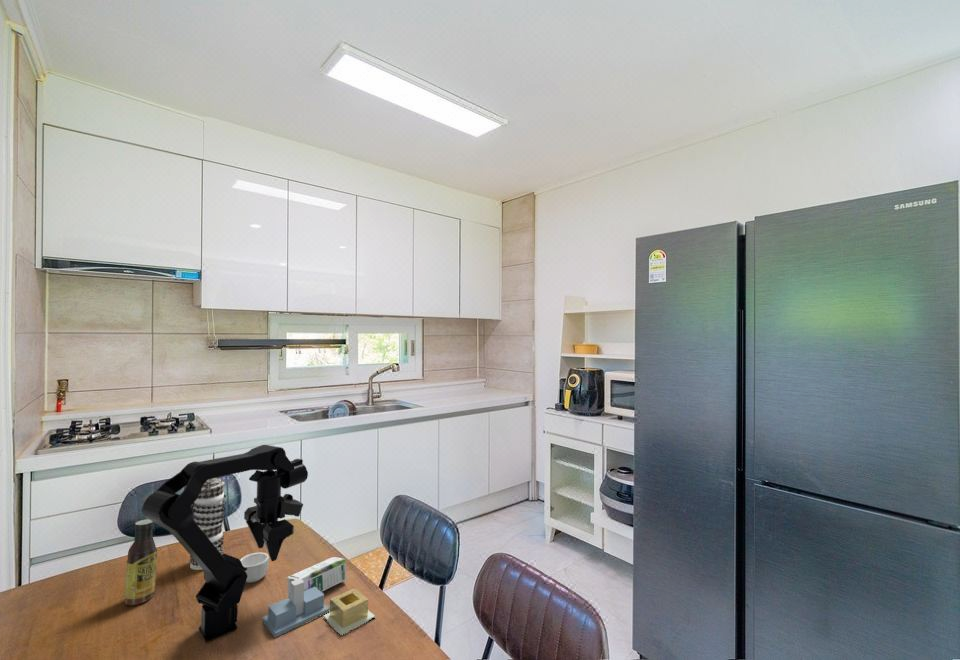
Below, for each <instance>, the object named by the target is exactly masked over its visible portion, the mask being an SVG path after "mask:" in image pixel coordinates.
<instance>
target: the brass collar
mask: <svg viewBox="0 0 960 660" xmlns="http://www.w3.org/2000/svg"><path fill="white" fill-rule="evenodd" d="M368 610H369V598H368V597H366V596H365V595H364V594H363V593H361V592H360V591H359V590H357V589H356V588H355V587H354V588H352V589H350V590H347V591H344V592H343V593H340V594H338V595H336V596H334V597H331V598H330V599H329V612H330V616H331V617H332V618H333V619H334V620H335V621H336V622H337V623H338V624H339V625H340V626H341V627H342V628H345V627H347V626H349V625H351V624H353V623H355V622H356V621H358V620H360V619H362V618H364V617H366V616H368Z"/></svg>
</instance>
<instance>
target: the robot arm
mask: <svg viewBox="0 0 960 660" xmlns="http://www.w3.org/2000/svg"><path fill="white" fill-rule="evenodd" d="M286 453H287V452H286V450H285V449H284V447H280V446H275V445H270V444H261V445H259V446H256V447H254V448H251V449H250V450H248V451H247V452H244V453H239V454H234V455H230V456H229V455H228V456H224V457H217V458H213V459H206V460H201V461H192V462H189V463H188V464H186V465H185V466H184V467H183V468H182V469H181V470H180V472H178V473H176V474H175V475H173V476H172V477H171V478H169V479H167V480H166V481H165V482H163V484H161V485H160V486H159V487H158V489H156V490H155V492H153V493H151V494H150V495H148V497H147V498H146V499H145V501H144V502H143V504H142V508H141V513H142V515H143V516H144V517H145V518H147V519H150V520H151V521H153V522H154V524H155V525H158V526H159V527H160V528H163V529H165V530H167V532H169V533H171V535H173V536H172V537H174V538H175V539H176V541H177V542H178V543H179V544H180V545H181V546H182V548H184V549H185V550H186V552H187V553H188V554H189V556H190V555H191V556H192V557H193V559H194V560H195V561H196V562H197V563H198V564H199V565H200V567H201V568H202V569H203V570H202V571H203V579H204V581H205V582H204V584H203V585H202V586H201V587H200V589H199V590H198V592H197V594H196V595H195V599H196V602H197V603H198V604H200V605H201V615H200V616H201V618H200V619H201V621H200V623H201V624H200V626H199V627H198V631H199V633H200V635H201V637H202V638H203V641H204V642H205V643H208V642H211V641H213V640H215V639H217V638H221V637H222V636H225V635H228V634H230V633H233V632H234V631H236V630H237V629H238V625H237V622H238V611H239V609H238V606H239V605H238V604H239V603H240V602H241V599H242V595H243V592H244V589H245V586H246V583H247V582H246V579H247V578H248V576H247V573H246V572H245V571H246V570H247V568H245V567H244V566H243V565H242V563H241V561H240V558H238V557H235V556H232V555H230V554H228V553H224V552H223V554H221V553H220V552H219V551H218V549H217V548H216V547H215V546H214V545H213V543H212V542H211V541H210V540H209V538H208V537H207V536H206V535H205V534H204V532H203V531H202V530H201V529H200V527H199V526H198V525H197V524H196V523H195V521H194V519H193V509H194V508H193V509H192V507H191V505H192V504H193V503H194V502H195V501H196V499H197V498H198V496H199V494H200V492H201V489H202V487H203V485H204V484H205V482H206V481H207V480H209V479H213V478H217V477H218V478H220V477H226V476H230V475H234V474H239V473H244V472H248V471H254V470H255V472H254V473H253V474H251V476H249V478H248V481H251V482H256V497H254V498H253V503H254V504H255V505H253V506H250V507H248V508H246V510H244V514H243V516H244V517H243V519H244V520H245V523H246V525H247V527H248V529H249V530H250V531H249V532H250V533H251V535H252V537H253V538H254V539H253V540H254V541H255V544H256V546H257V548H258V549H262V548H263V547H264V546H265V548H266V551H267V552H268V553H267V554H268V556H269V559H270V560H271V562H275V561H276V560H277V559H278V556H279V553H280V550H281V547H282V544H283V542H284V540H285V539H287V538H289V537H290V536H292V535H294V532H295V530H294V528H295V525H293V524H292V523H291V522H289V521H288V520H287V519H285V518H286V516H294V517H300V515H301V512H302V510H303V507H304V504H303V503H302V502H301V501H299V500H296V499H295V498H294V497H293V495H292V494H290V493H285V494H284V495H283V496H282V489H284V490H285V489H289V488H291V487H295V486H297V485H300V484H303V483H305V482H306V481H307V479H308V476H309V471H308V470H307V467H306V465H305V464H304V463H303V461H304V460H303V459H302V458H295V459H292V460H290V459H289V457H288V456H287V454H286ZM184 487H185V488H184ZM182 489H183V490H182ZM180 490H182V492H181V493H179V494H178V492H179V491H180ZM279 519H280V520H279Z"/></svg>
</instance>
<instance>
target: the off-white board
mask: <svg viewBox="0 0 960 660" xmlns="http://www.w3.org/2000/svg"><path fill="white" fill-rule="evenodd" d="M322 616H323V617H324V618H325V619H326V620H327V621H328V622H329V623H328V622H327V621H326V620H325V619H324V618H323V617H322V618H323V619H324V620H325V621H326V622H327V623H328V624H329V626H331V625H332V626H333V627H334V628H333V627H332V626H331V627H332V628H333V630H335V632H336V633H337V632H338V633H339V634H340V635H342V634H344V633H346V632H348V631H350V630H352V629H354V628H355V627H357V626H359V627H361V626H362V625H361V624H363V625H365V624H367V623H368V622H367V621H369V620H371V619H372V618H375V619H376V615H375V614H374V613H372V612H371V611H370V610H369V609H368V616H366V617H364V618H362V619H360V620H358V621H356V622H355V623H353V624H351V625H349V626H347V627H345V628H342V627H341V626H340V625H339V624H338V623H337V622H336V621H335V620H334V619H333V618H332V617H331V616H330V611H329V613H327V614H325V615H322ZM371 621H372V620H371ZM366 622H367V623H366ZM369 622H370V621H369ZM364 623H365V624H364ZM360 625H361V626H360ZM354 630H355V629H354ZM352 631H353V630H352ZM350 632H351V631H350ZM348 633H349V632H348ZM339 634H338V635H339ZM346 634H347V633H346ZM340 635H339V636H340ZM344 635H345V634H344ZM342 636H343V635H342Z"/></svg>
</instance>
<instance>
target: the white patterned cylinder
mask: <svg viewBox="0 0 960 660" xmlns="http://www.w3.org/2000/svg"><path fill="white" fill-rule="evenodd" d="M225 483H226V482H225V481H223V480H222V479H221V478H220V477H217V478H213V479H209V480H207V481H206V482H205V484H204V485H203V487H202V489H201V492H200V494H199V496H198V498H197V499H196V501H195V502H194V503H193V504H192V505H191V507H192V509H193V519H194V521H195V523H196V524H197V525H198V526H199V527H200V529H201V530H202V531H203V532H204V534H205V535H206V536H207V537H208V538H209V540H210V541H211V542H212V543H213V545H214V546H215V547H216V548H217V549H218V551H219V552H220V553H221V554H223V553H224V546H223V545H224V539H225V538H224V535H223V523H224V522H225V518H224V517H225V516H226V514H225V512H224V511H225V510H226V506H225V505H226V504H227V501H225V500H223V499H225V498H226V497H227V494H225V492H224V485H225ZM189 558H190V559H189V563H190V564H189V567H190V569H191V570H194V571H195V570H196V571H201V570H202V571H203V569H202V568H201V567H200V565H199V564H198V563H197V562H196V561H195V560H194V559H193V557H192V556H191V555H190V554H189Z"/></svg>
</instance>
